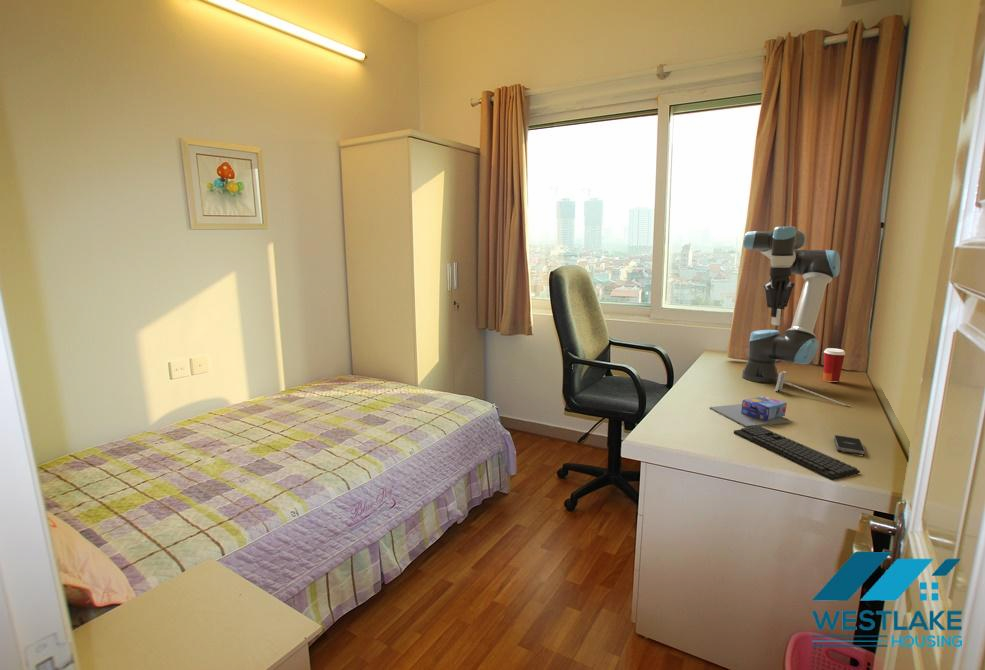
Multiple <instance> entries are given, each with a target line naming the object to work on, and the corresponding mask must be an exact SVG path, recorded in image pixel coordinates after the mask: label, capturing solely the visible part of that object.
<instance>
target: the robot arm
mask: <svg viewBox="0 0 985 670" xmlns="http://www.w3.org/2000/svg"><path fill="white" fill-rule="evenodd" d="M807 239H808V238H807V235H806V233H804V231H802V230H797V227H796V226H787V225H786V226H776V227H774V229H773V230H766V231H765V230H763V231H762V230H760V231H759V230H753V231H747V232H745V234H744V237H743V242H742V243H743V247H744V248H745V249H746V250H756V251H758V252H759V253H761V254H762V255H764V256H765V257H767V258H768V259H769V260H770V267H769V276H770V279H769V282H768V283H767V284H763V288H764V290H765V299H766V307H767V308H769V309H770V310H771V313H770V317H771V323H770V324H771V325H772V326H780V323H781V322H780V321H781V317H782V313H783V310H785V308H787V307H788V305H789V301H790V297H791V295H792V290H793V289H794V287H795V283H794V282H792V281H790V280H791V279H790V278H791V276H792V274H793V275H800V276H801V277H802V279H803V280H804V282H803V286H802V290H801V292H800V296H799V300H798V304H797V305H796V310H795V313H794V317H793V320H792V323H791V326H790V328H788V329H786V330H785V333H784V334H780V331H779V330H777V329H761V330H760V329H759V330H754V331H752V332H750V336H749V340H748V342H749V343H748V351H747V352H748V354H747V362H746V364H745V367H744V369H743V370H742V374H741V377H742V378H743V379H745V380H747V381H751V382H756V383H762V382H763V383H764V384H765V383H766V384H769V383H770V384H771V383H772V384H773V383H777V381H778V378H779V376H780V375H779V373H778V368H777V361H783V362H788V363H789V362H790V363H794V364H802V365H807V364H808V365H809V364H810V363H811V362H812V361H813V360H814V359H815V357H816V355H817V352H818V349H819V340H817V339H816V338H817V337H816V334H815V333H814V329H815V326H816V322H817V319H818V316H819V312H820V310H821V309H820V308H821V306H822V303H823V302H822V301H823V299H824V296H825V291H826V287H827V284H829V283H831V282H833V281H832V280H833V278H834V277H835V278H836V277H838V276H839V274H840V271H841V257H840V253H839V252H838V251H837V250H830V249H801V248H803V247H804V246H805V245H806V243H807V241H808V240H807Z"/></svg>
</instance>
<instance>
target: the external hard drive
mask: <svg viewBox="0 0 985 670" xmlns="http://www.w3.org/2000/svg"><path fill="white" fill-rule="evenodd" d="M833 441H834V444H835V447H836V450H837V452H838V453H841V454H848V455H853V454H854V455H855V456H859V455H863V456H862V457H865V455H866V449H865V447H864V445H863V442H862V441H861V439H860V438H857V437H850V436H849V437H848V436H845V435H844V436H843V435H838V434H837V435H835V434H834V436H833Z"/></svg>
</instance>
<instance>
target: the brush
mask: <svg viewBox="0 0 985 670" xmlns="http://www.w3.org/2000/svg"><path fill="white" fill-rule="evenodd" d="M786 375H787V371H781V372H779V375H778V376H779V377H778V381H777V382H776V385H775V389H774V392H775V391H777V392H782V390H783V386H784V384H785V385H788V386H790V387H793V388H797V389H800V390H802V391H804V392H807V393H810V394H813V395H816V396H818V397H821V398H823V399H826V400H828V401H831V402H834V403H836V404H839V405H842V404H843V405H842V406H844V405H848V406H850V405H849V404H846V403H843V402H841V401H837V400H835V399H832V398H830V397H827V396H824V395H822V394H820V393H816V392H814V391H810V390H808V389H805V388H803V387H801V386H798V385H795V384H793V383H790V382H787V381H785V379H786ZM778 390H779V391H778Z"/></svg>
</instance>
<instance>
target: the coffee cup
mask: <svg viewBox="0 0 985 670" xmlns="http://www.w3.org/2000/svg"><path fill="white" fill-rule="evenodd" d="M823 353H824V356H823V357H824V359H823V374H822V377H823V378H822V380H823V379H824V380H827V381H839V382H840V377H841V373H842V369H843V364H844V360H845V355H846V351H845V350H844V349H840V348H833V347H832V348H831V347H827V348H825V349H824V351H823Z"/></svg>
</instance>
